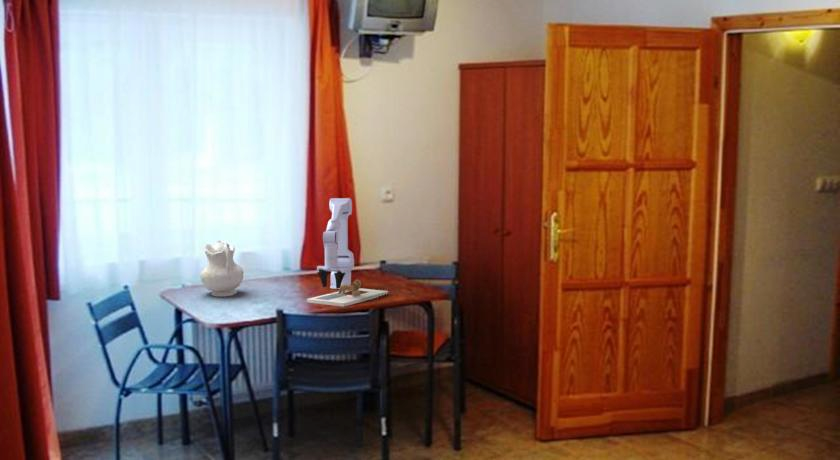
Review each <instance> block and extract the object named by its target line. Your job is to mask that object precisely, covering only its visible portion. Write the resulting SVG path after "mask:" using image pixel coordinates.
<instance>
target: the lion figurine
mask: <svg viewBox="0 0 840 460" xmlns="http://www.w3.org/2000/svg"><path fill="white" fill-rule="evenodd" d="M361 285H362V281H361V280H360V279H355V280H354V281H353V282H351V285H341V287H340V288H339V289H338V291H339V293H338V294H340V293H341V292H343V294H344V295H346V293H345V291H346V290H347V291H350V292H351V295H353V292H354V291H360V290H359V288H361Z"/></svg>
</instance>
